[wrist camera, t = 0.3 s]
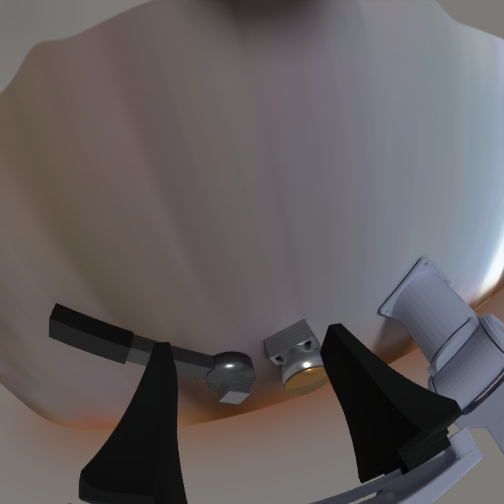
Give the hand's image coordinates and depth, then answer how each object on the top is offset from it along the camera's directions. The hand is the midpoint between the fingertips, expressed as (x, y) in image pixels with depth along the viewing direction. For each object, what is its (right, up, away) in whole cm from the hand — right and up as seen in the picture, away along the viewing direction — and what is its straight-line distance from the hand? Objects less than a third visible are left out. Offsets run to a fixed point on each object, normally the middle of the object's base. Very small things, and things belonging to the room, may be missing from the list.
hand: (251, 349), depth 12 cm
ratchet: (-9, -5, +13) cm, 17 cm away
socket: (+4, -5, +16) cm, 18 cm away
